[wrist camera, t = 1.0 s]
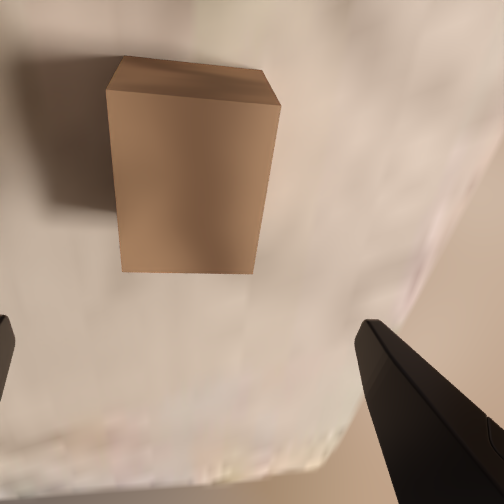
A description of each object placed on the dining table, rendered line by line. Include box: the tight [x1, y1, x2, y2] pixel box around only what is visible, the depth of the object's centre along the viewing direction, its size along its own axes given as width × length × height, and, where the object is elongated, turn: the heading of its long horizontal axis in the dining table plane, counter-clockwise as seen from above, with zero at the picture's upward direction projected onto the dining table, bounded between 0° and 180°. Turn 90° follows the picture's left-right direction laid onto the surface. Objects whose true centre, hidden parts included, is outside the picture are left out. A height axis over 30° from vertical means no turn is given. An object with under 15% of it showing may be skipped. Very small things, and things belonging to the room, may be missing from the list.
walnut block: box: [106, 56, 281, 274], centre depth 18 cm, size 6×8×5 cm
